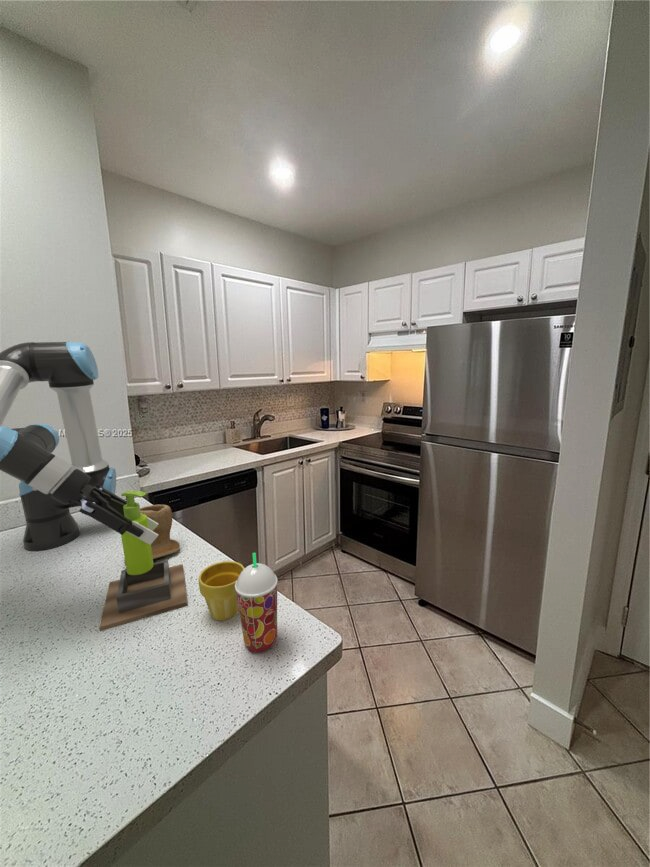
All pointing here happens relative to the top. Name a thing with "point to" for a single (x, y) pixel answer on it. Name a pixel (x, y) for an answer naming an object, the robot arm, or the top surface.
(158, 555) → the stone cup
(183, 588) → the dispenser stand
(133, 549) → the soap dispenser
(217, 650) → the top surface
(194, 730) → the top surface
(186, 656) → the top surface
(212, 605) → the plant pot
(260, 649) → the smoothie
